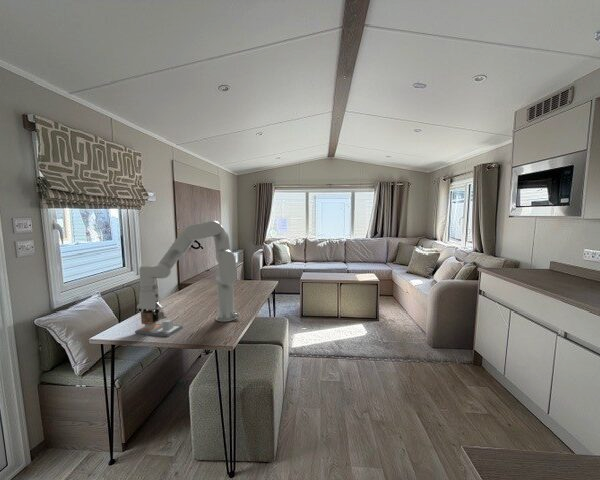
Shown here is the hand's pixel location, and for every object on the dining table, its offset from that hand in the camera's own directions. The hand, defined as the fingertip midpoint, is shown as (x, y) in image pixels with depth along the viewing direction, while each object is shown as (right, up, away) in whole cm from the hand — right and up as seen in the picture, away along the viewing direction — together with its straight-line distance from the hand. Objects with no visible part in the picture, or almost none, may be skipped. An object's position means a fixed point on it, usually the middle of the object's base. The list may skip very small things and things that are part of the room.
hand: (150, 320), depth 160 cm
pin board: (+5, -5, -1) cm, 8 cm away
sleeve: (0, -1, 0) cm, 1 cm away
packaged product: (-9, -4, +26) cm, 28 cm away
